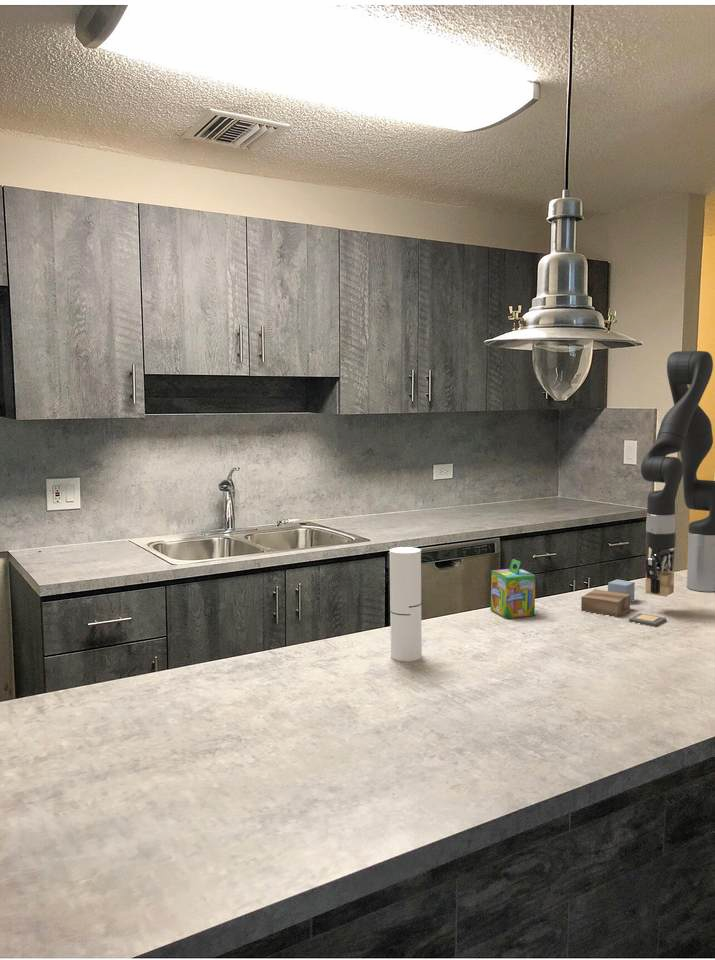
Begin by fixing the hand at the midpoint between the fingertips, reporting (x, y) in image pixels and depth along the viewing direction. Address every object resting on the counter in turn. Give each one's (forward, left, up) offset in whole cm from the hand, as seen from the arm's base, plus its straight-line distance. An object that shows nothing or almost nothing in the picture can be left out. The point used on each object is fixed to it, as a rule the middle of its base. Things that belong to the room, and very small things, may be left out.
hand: (659, 590), depth 209 cm
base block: (+7, -12, -6) cm, 15 cm away
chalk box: (+26, -30, -6) cm, 40 cm away
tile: (+10, +1, -6) cm, 12 cm away
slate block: (-5, -13, -6) cm, 15 cm away
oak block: (0, 0, -1) cm, 1 cm away
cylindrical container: (+72, -30, -6) cm, 79 cm away
